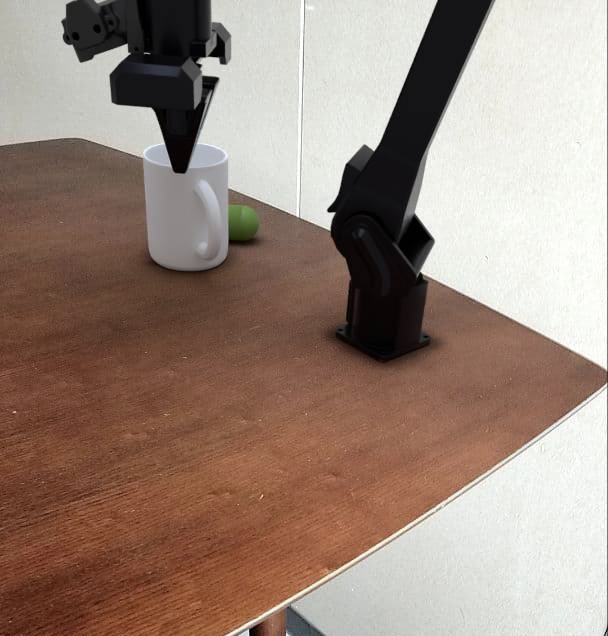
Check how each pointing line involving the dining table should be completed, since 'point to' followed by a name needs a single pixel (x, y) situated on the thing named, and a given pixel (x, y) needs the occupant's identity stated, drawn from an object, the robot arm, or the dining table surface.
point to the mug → (187, 208)
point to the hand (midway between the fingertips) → (180, 172)
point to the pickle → (242, 223)
